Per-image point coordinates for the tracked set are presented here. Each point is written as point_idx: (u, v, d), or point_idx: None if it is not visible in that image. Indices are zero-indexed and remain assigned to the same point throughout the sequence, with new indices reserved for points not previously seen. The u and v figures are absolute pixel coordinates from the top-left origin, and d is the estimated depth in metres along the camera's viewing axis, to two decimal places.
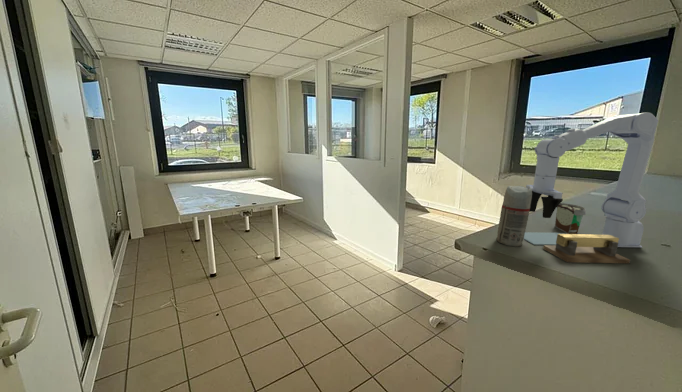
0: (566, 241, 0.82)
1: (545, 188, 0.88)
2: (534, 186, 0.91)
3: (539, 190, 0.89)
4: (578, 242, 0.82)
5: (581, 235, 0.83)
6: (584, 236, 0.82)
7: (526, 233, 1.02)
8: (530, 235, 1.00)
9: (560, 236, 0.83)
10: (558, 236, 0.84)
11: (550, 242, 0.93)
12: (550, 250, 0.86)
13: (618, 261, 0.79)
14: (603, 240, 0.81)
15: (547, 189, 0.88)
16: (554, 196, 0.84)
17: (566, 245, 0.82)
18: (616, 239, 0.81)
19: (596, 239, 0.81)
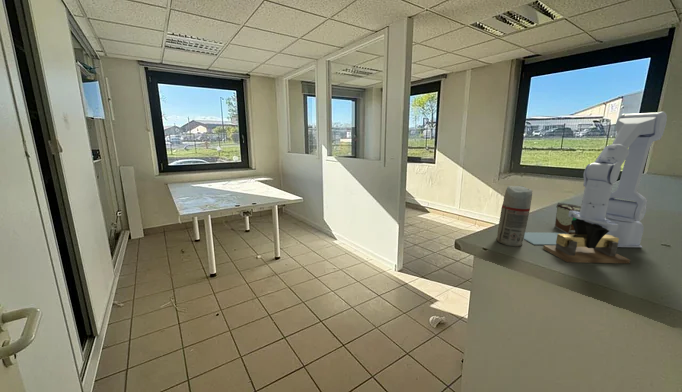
0: (566, 241, 0.82)
1: (596, 218, 0.79)
2: (582, 214, 0.81)
3: (588, 219, 0.79)
4: (578, 242, 0.82)
5: (581, 235, 0.83)
6: (584, 236, 0.82)
7: (526, 233, 1.02)
8: (530, 235, 1.00)
9: (560, 236, 0.83)
10: (558, 236, 0.84)
11: (550, 242, 0.93)
12: (550, 250, 0.86)
13: (618, 261, 0.79)
14: (603, 240, 0.81)
15: (598, 219, 0.78)
16: (608, 228, 0.75)
17: (566, 245, 0.82)
18: (616, 239, 0.81)
19: None
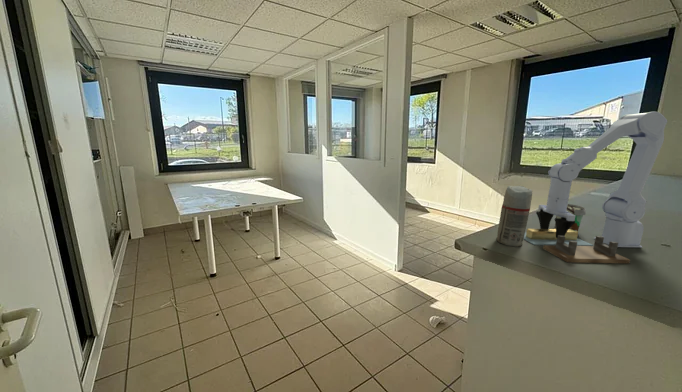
0: (534, 234, 0.96)
1: (558, 210, 0.93)
2: (547, 207, 0.95)
3: (552, 212, 0.93)
4: (544, 235, 0.96)
5: (547, 229, 0.97)
6: (549, 230, 0.96)
7: None
8: None
9: (529, 230, 0.97)
10: (527, 230, 0.98)
11: (550, 242, 0.93)
12: (550, 250, 0.86)
13: (618, 261, 0.79)
14: None
15: (560, 211, 0.92)
16: (567, 218, 0.89)
17: (533, 238, 0.96)
18: (576, 233, 0.95)
19: None
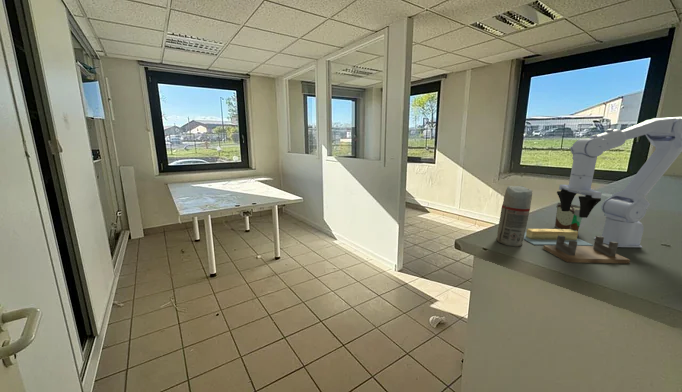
0: (534, 234, 0.96)
1: (582, 188, 0.88)
2: (570, 186, 0.91)
3: (576, 190, 0.89)
4: (544, 235, 0.96)
5: (547, 229, 0.97)
6: (549, 230, 0.96)
7: None
8: None
9: (529, 230, 0.97)
10: (527, 230, 0.98)
11: (550, 242, 0.93)
12: (550, 250, 0.86)
13: (618, 261, 0.79)
14: (564, 233, 0.95)
15: (584, 189, 0.88)
16: (593, 196, 0.84)
17: (533, 238, 0.96)
18: (576, 233, 0.95)
19: (559, 233, 0.95)
